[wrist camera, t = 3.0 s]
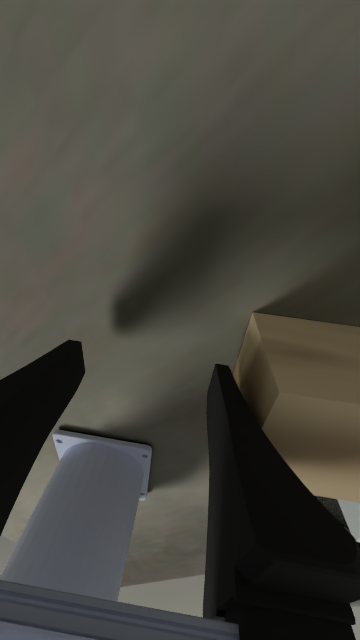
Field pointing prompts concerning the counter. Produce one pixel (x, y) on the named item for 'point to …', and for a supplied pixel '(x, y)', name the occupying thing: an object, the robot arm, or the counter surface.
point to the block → (306, 397)
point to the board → (351, 516)
